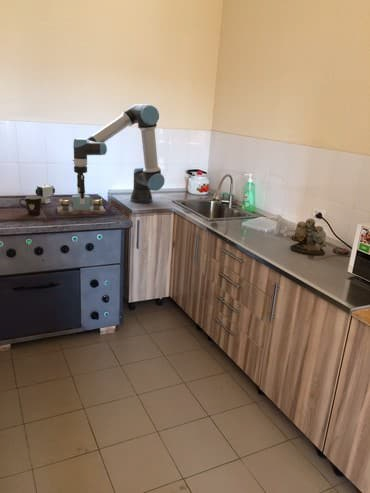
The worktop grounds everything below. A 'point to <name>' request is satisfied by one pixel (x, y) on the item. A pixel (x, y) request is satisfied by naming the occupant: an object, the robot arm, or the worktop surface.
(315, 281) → the worktop surface
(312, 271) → the worktop surface
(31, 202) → the coffee mug
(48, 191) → the pneumatic valve
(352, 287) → the worktop surface
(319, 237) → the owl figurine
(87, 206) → the coupling block
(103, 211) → the base board
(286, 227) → the toy dinosaur
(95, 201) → the pipe rig
